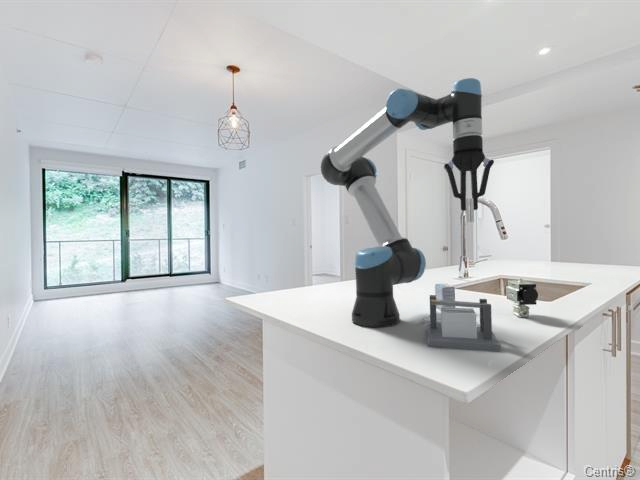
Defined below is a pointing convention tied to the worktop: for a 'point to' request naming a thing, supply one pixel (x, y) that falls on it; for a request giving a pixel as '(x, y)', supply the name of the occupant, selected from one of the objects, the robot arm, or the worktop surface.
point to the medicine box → (444, 294)
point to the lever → (457, 303)
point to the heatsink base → (462, 341)
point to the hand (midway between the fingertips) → (469, 222)
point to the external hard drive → (438, 318)
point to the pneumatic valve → (521, 296)
